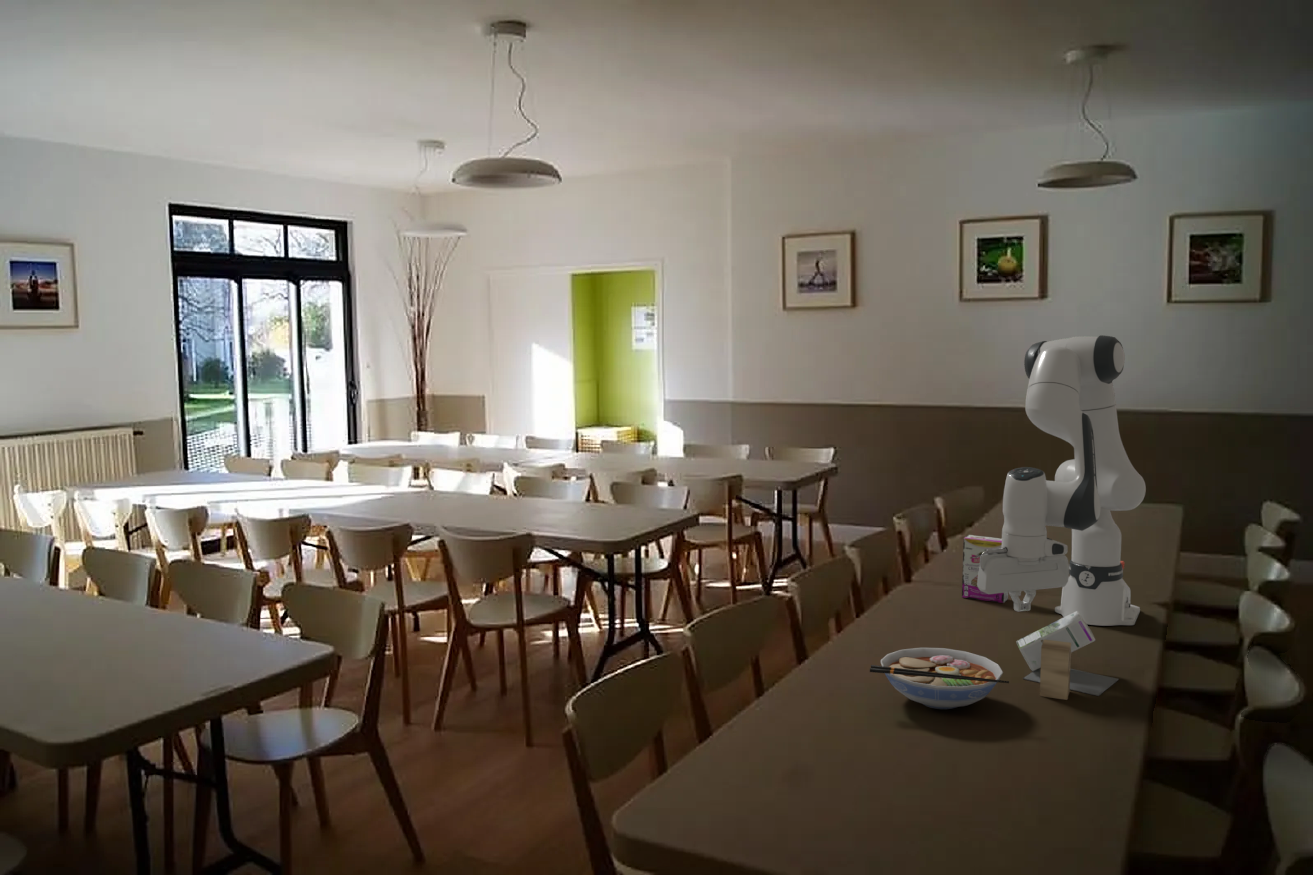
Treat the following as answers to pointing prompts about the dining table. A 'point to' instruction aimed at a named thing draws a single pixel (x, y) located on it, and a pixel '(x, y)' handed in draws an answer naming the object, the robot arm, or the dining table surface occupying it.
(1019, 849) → the dining table surface
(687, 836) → the dining table surface
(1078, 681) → the rubber mat
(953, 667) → the ramen bowl
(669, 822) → the dining table surface
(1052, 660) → the oak block
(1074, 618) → the syrup box
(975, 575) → the candy bar box
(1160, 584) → the dining table surface
